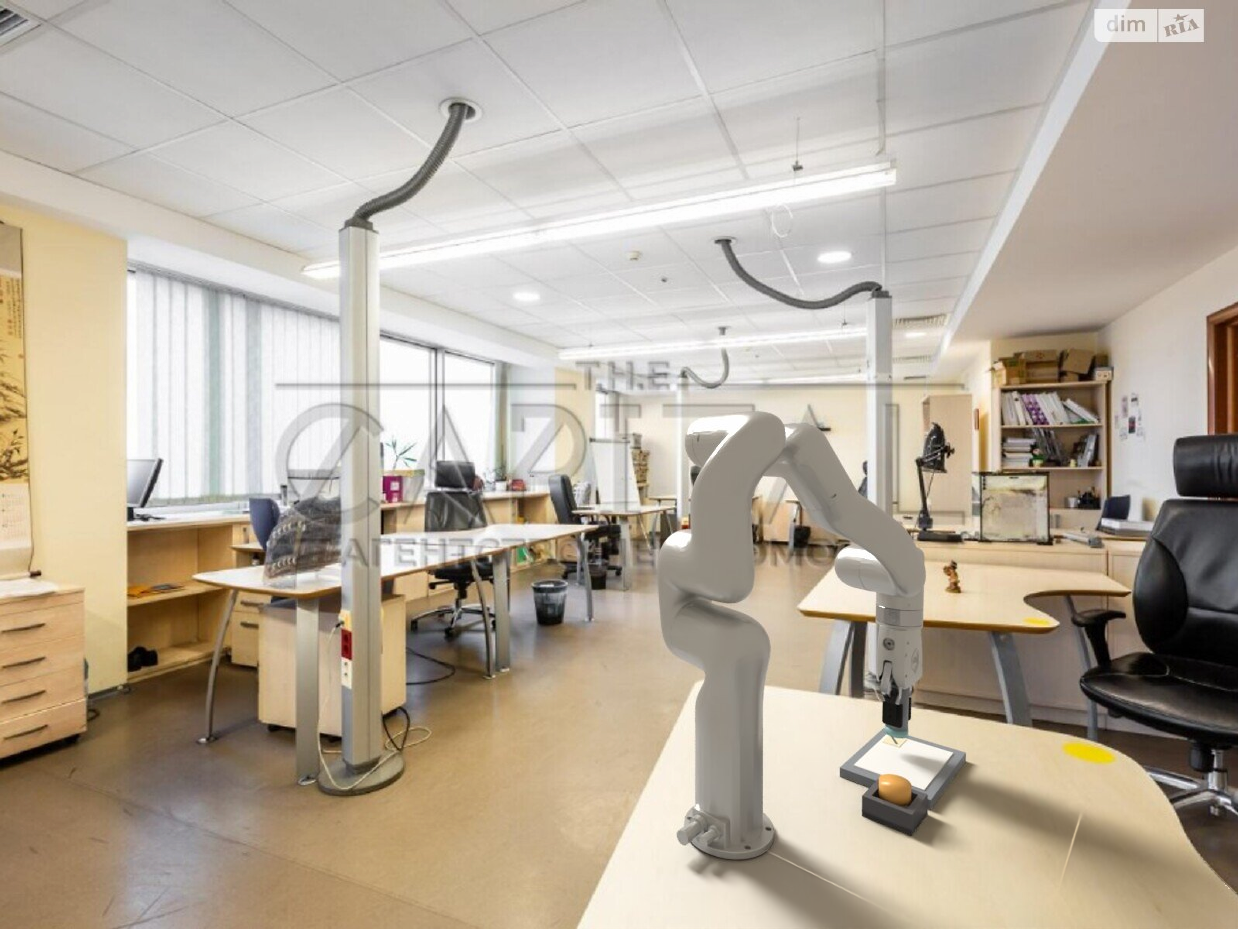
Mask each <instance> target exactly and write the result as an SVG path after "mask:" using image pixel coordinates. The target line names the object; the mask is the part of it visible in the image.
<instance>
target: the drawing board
mask: <svg viewBox="0 0 1238 929" xmlns="http://www.w3.org/2000/svg"><path fill="white" fill-rule="evenodd" d="M966 762H967V752H965V751H962V750H958V749H955V748H952V747H949V746H945V745H942V744H939V743H934V742H932V741H928V740H925V739H922V738H919V737H915V736H912V735H909V734H908V737H907V738H903V739H901V738H894V737H891V736H889V735H887V734H886V733H885V727H882V729H880V730H879V731H878V732H877V733H876V734H875V735H874V736H873V737H872V738H870V740H868V742H866V743H865V744H864V745H863V746H862V747H861V748H859V749H858V750H857V751H856V752H855V753H854V754H853V755H852V756H851V757H850V758H848V759H847V760H846V761H845V762H844V763H843V764H842V765H841V766H840V767H839V777H840V778H843V779H845V780H849V781H851V782H853V783H857V784H860V785H862V786H864V787H867V788H870V787H871V786H872V785H873V784H874V783H875V782H876V780H877V779H878V778H879V777H880V776H881V775H883V774H894V775H898V776H901V777H904V778H906V779H907V780H908V781H910V783H911V789H914V790H916V791H919V792H922V793H925V794H928V810H929V811H931V810H933V808H934V806H935V805H936V803H937V802H938V801H939V800H940V797H941V796H942V795H943V793H944V792H945V790H946V789H947V788H948V787H949V785H950V784H951V782H952V781H953V780H954V778H955V777H956V776H957V774H958V773H959V771H960V770H961V769H962V768H963V766H964V764H965V763H966Z"/></svg>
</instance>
